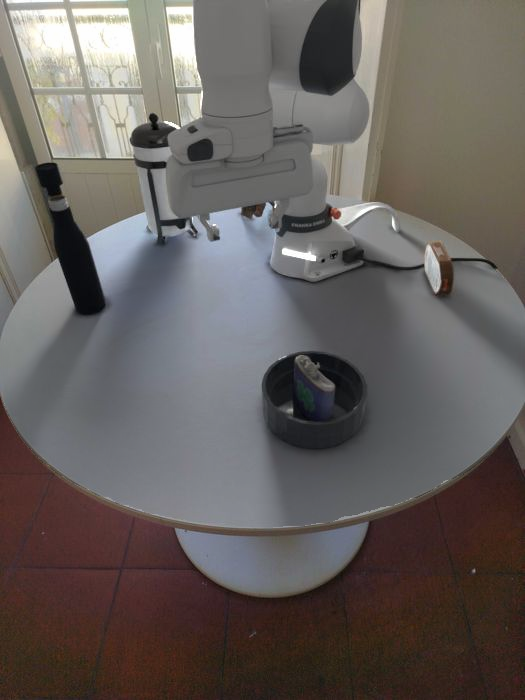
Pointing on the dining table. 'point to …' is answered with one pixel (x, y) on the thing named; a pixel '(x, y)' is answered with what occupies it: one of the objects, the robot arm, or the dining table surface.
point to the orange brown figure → (255, 210)
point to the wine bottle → (71, 246)
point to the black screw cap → (291, 422)
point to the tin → (438, 268)
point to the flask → (312, 391)
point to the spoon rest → (359, 211)
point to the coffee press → (157, 178)
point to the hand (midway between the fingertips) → (244, 233)
